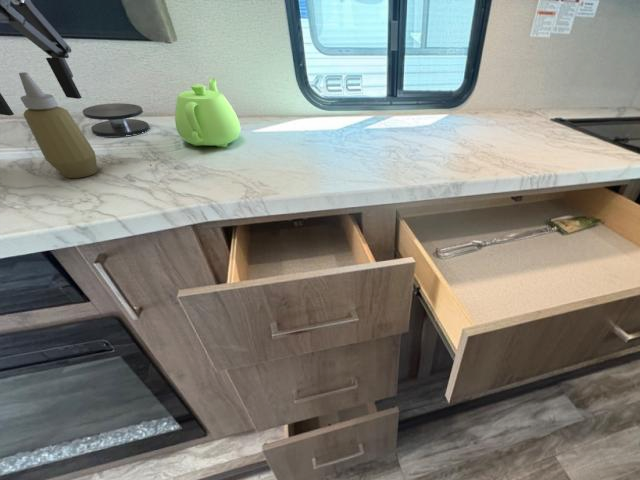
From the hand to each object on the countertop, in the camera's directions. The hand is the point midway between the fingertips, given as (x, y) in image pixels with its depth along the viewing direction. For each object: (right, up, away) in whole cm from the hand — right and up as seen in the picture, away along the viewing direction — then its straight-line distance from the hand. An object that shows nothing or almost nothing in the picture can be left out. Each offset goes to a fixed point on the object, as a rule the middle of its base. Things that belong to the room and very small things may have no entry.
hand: (42, 105), depth 62 cm
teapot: (+16, +8, +29) cm, 34 cm away
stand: (-10, +11, +29) cm, 33 cm away
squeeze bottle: (-1, -10, +9) cm, 13 cm away
